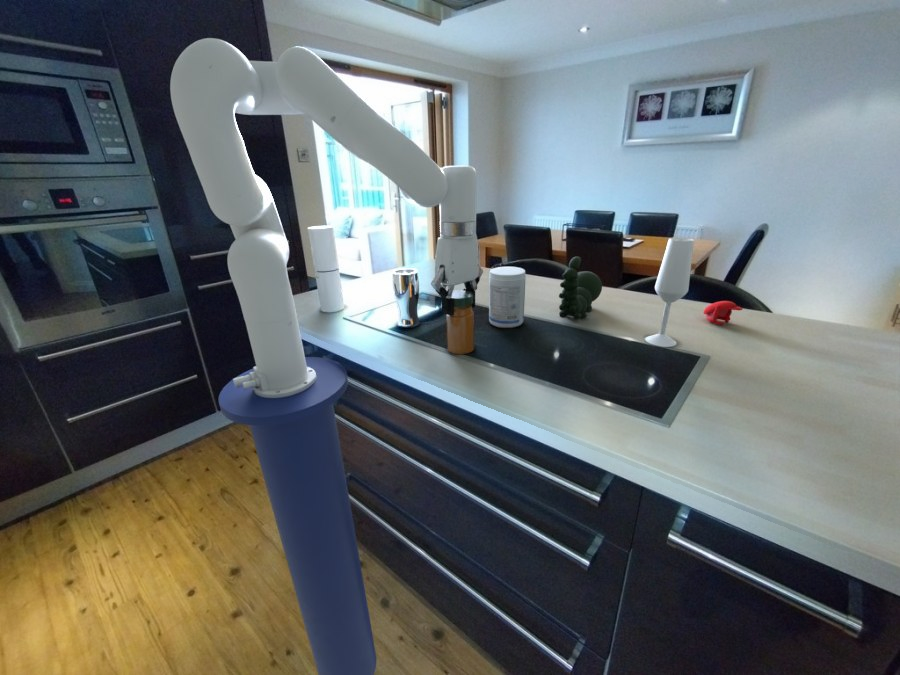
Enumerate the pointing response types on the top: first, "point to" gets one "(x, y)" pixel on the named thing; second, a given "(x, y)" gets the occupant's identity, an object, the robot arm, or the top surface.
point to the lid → (462, 298)
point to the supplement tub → (506, 296)
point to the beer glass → (406, 296)
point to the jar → (460, 330)
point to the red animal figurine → (720, 311)
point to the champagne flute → (672, 282)
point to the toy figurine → (578, 291)
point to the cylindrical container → (326, 268)
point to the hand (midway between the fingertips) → (458, 309)
